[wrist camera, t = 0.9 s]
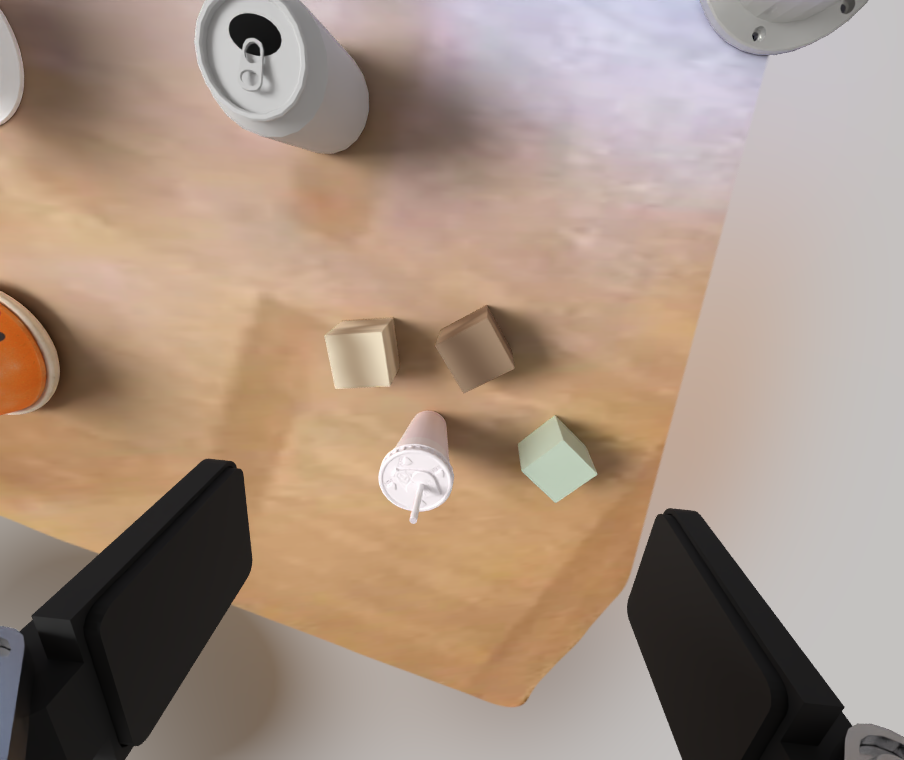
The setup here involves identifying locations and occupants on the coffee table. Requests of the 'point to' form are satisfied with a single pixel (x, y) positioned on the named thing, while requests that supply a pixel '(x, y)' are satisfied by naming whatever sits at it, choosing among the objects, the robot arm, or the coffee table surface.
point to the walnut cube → (475, 349)
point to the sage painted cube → (555, 459)
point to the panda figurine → (9, 71)
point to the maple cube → (363, 353)
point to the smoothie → (419, 466)
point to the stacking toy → (24, 360)
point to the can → (281, 73)
